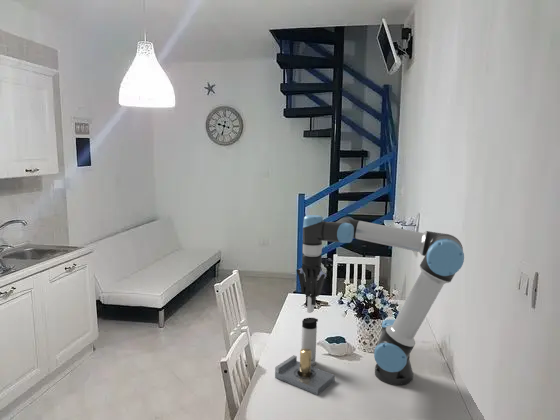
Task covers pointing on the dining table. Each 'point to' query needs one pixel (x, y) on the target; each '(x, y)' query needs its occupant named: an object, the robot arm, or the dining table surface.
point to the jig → (313, 384)
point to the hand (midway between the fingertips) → (310, 311)
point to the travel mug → (309, 336)
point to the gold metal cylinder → (305, 362)
